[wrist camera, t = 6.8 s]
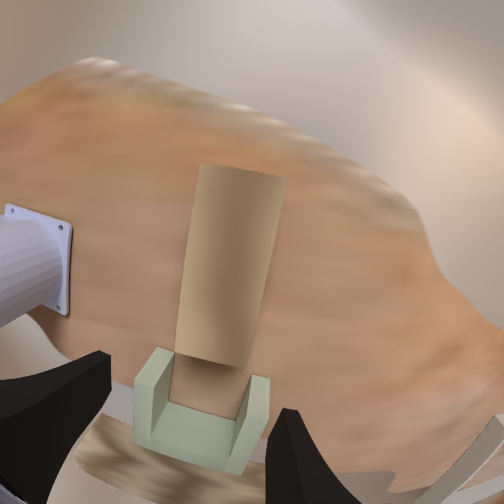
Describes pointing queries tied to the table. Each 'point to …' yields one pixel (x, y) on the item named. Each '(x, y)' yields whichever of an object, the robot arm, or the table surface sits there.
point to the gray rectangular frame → (469, 471)
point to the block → (196, 421)
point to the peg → (227, 262)
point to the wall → (161, 470)
